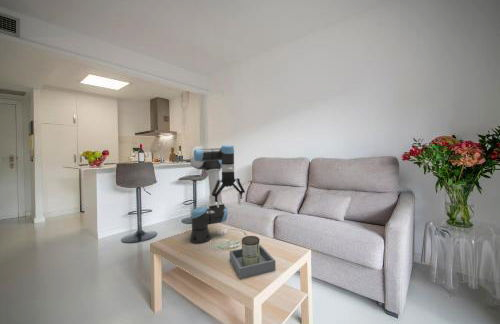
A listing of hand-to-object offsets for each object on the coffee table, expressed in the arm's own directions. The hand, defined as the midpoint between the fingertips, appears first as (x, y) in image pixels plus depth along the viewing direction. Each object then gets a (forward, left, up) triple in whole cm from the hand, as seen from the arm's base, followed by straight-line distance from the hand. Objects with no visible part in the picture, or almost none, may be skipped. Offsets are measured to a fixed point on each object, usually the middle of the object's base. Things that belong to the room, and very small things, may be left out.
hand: (228, 205), depth 129 cm
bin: (+13, +9, -33) cm, 36 cm away
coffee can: (+13, +9, -32) cm, 35 cm away
